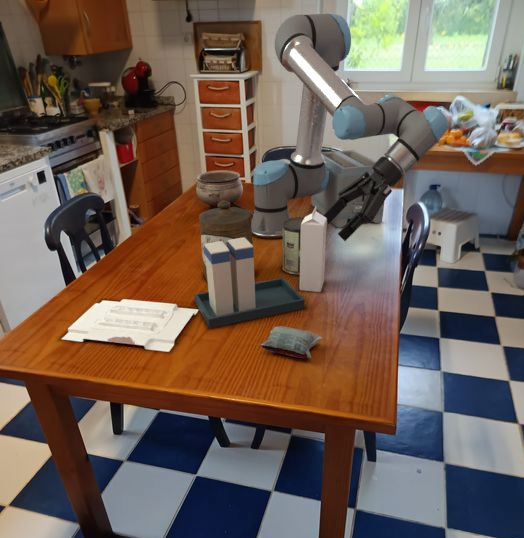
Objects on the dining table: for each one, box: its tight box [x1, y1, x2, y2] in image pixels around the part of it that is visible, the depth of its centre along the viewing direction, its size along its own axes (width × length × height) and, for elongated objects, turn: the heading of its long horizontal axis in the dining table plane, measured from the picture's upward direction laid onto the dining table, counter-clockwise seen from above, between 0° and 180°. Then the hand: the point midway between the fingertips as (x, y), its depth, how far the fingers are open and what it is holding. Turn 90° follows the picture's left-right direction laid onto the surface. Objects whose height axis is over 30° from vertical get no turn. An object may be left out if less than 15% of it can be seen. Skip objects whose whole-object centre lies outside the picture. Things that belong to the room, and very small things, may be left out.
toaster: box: [310, 149, 386, 229], centre depth 182 cm, size 19×33×20 cm, turn 14°
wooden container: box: [198, 200, 254, 281], centre depth 138 cm, size 15×15×22 cm
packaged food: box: [260, 325, 323, 359], centre depth 109 cm, size 9×12×5 cm
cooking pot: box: [195, 169, 244, 209], centre depth 198 cm, size 25×19×12 cm
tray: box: [193, 277, 306, 329], centre depth 127 cm, size 15×26×3 cm, turn 111°
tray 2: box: [61, 298, 199, 353], centre depth 121 cm, size 20×28×4 cm
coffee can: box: [282, 216, 305, 276], centre depth 143 cm, size 10×10×14 cm
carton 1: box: [204, 241, 234, 316], centre depth 121 cm, size 7×5×17 cm
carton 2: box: [227, 237, 256, 311], centre depth 123 cm, size 7×5×17 cm
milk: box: [298, 207, 328, 293], centre depth 130 cm, size 6×6×22 cm
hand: (332, 228), depth 128 cm, fingers open, 13 cm apart
